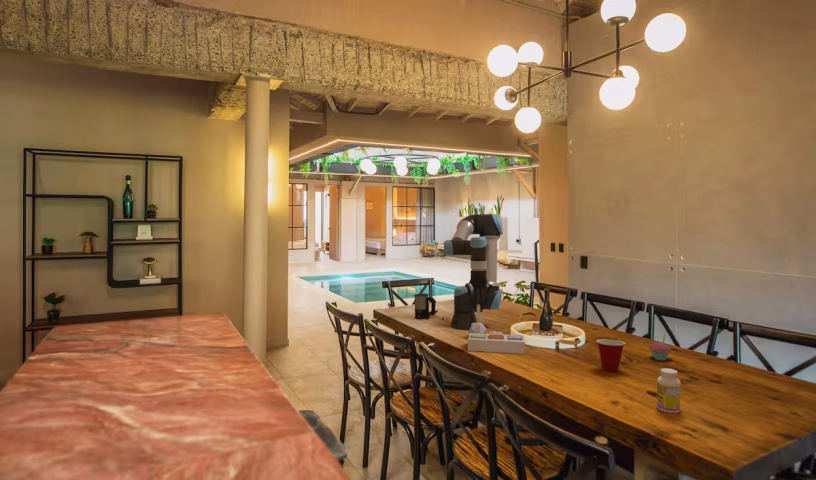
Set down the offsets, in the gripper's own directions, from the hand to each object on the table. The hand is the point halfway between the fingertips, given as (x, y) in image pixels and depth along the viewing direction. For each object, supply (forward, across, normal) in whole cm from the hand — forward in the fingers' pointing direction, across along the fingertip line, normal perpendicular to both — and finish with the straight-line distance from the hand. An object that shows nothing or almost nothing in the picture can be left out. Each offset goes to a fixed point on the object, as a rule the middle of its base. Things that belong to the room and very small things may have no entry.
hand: (478, 318), depth 218 cm
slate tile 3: (+11, +17, 0) cm, 20 cm away
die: (+14, -2, +18) cm, 23 cm away
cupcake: (+14, +78, -3) cm, 80 cm away
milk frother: (+14, -37, +62) cm, 74 cm away
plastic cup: (+14, +54, -22) cm, 60 cm away
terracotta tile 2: (+10, +8, 0) cm, 13 cm away
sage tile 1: (+11, 0, 0) cm, 11 cm away
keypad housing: (+14, +8, 0) cm, 16 cm away
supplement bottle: (+14, +64, -59) cm, 88 cm away
